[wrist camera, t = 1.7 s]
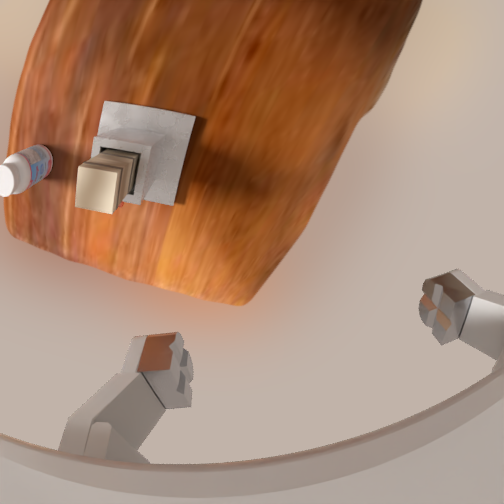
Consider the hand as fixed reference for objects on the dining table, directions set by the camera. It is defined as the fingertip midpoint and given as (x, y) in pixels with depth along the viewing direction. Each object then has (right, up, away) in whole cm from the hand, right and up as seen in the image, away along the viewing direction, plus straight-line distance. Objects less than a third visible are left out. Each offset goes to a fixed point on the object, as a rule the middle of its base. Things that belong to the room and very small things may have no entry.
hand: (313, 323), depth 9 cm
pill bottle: (-37, +17, +27) cm, 49 cm away
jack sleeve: (-19, +17, +30) cm, 40 cm away
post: (-18, +16, +29) cm, 38 cm away
